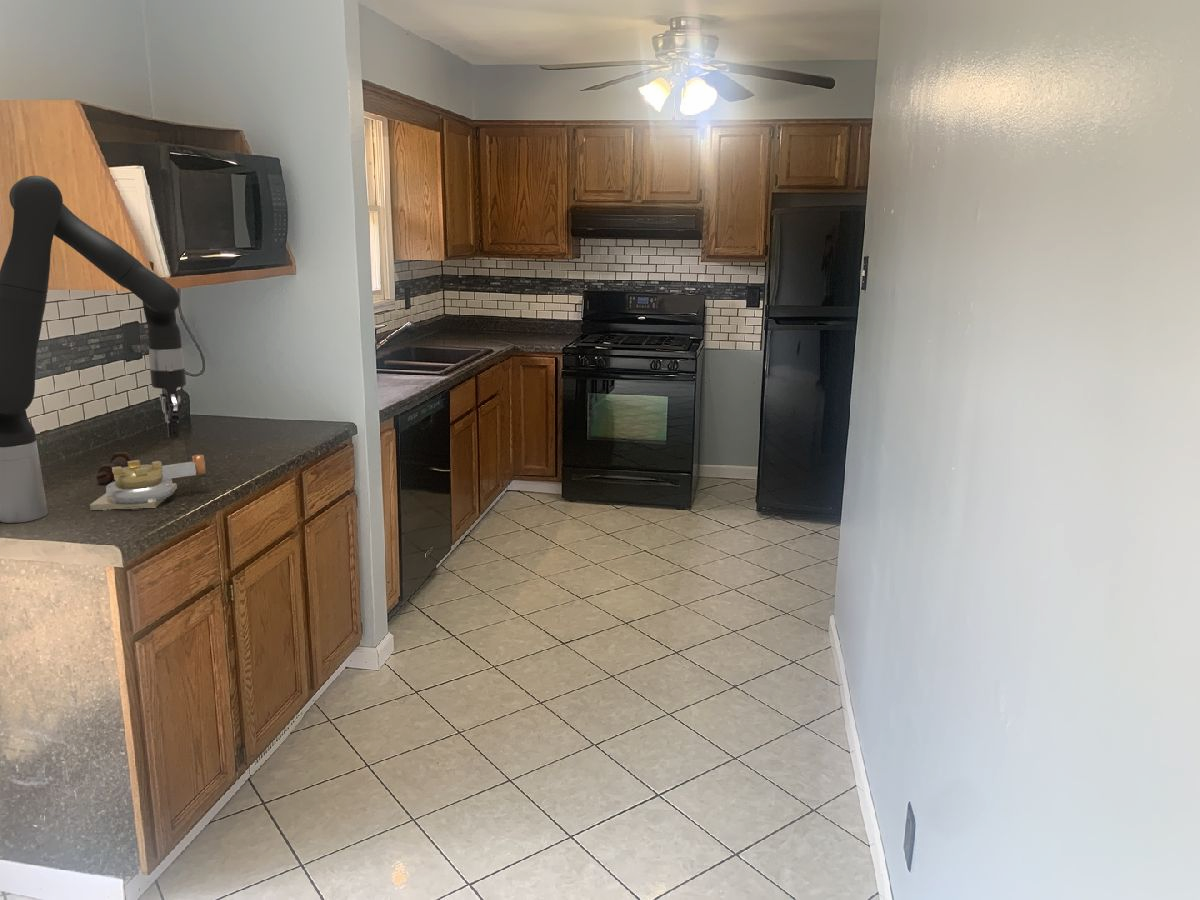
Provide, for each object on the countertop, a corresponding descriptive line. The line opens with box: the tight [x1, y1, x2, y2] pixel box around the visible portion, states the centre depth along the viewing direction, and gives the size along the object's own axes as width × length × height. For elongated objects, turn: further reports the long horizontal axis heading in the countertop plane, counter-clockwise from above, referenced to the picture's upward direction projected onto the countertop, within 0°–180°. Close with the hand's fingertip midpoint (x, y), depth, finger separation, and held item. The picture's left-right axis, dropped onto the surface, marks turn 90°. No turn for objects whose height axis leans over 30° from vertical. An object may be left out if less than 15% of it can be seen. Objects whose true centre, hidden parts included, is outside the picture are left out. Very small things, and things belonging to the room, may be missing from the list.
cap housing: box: [89, 478, 178, 511], centre depth 214 cm, size 16×17×4 cm
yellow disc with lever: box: [112, 454, 207, 488], centre depth 214 cm, size 20×10×4 cm, turn 127°
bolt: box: [95, 451, 134, 484], centre depth 233 cm, size 6×5×15 cm
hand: (173, 437), depth 219 cm, fingers closed
